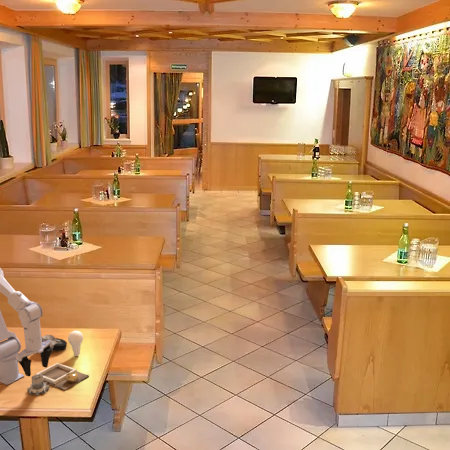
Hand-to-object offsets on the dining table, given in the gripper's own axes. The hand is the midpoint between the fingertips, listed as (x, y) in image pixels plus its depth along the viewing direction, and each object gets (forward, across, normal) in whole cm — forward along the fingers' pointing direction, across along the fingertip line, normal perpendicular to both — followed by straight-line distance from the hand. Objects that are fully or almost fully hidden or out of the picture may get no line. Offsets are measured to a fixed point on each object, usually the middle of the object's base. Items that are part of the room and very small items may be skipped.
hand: (36, 371), depth 210 cm
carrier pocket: (+8, +11, +3) cm, 14 cm away
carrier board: (+8, +11, 0) cm, 14 cm away
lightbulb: (+8, +27, +9) cm, 30 cm away
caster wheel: (+8, +25, +22) cm, 35 cm away
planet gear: (+8, 0, 0) cm, 8 cm away
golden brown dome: (+8, +11, -6) cm, 15 cm away
